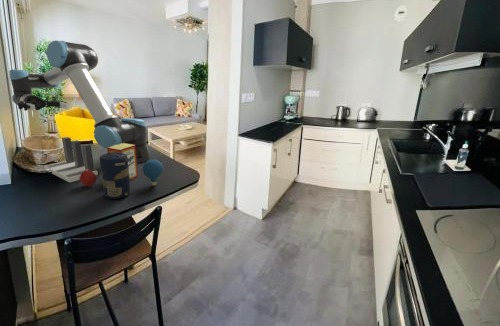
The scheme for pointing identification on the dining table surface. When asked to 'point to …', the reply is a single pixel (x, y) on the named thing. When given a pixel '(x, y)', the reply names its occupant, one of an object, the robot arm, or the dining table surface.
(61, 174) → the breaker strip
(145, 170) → the light bulb
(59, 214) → the dining table surface
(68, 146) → the block
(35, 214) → the dining table surface
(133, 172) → the baking soda box
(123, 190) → the dark blue cylinder
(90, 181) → the pomegranate
